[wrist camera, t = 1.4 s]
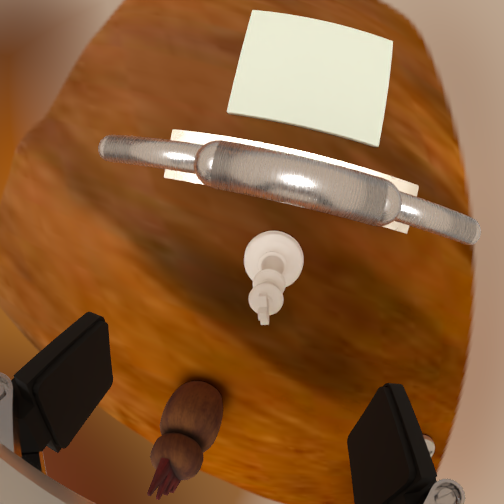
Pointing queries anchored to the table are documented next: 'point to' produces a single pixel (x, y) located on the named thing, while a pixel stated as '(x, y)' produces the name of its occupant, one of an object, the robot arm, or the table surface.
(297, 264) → the chess piece
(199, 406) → the wooden figurine
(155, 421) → the table surface
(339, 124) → the pad
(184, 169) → the silver metal frame stand
